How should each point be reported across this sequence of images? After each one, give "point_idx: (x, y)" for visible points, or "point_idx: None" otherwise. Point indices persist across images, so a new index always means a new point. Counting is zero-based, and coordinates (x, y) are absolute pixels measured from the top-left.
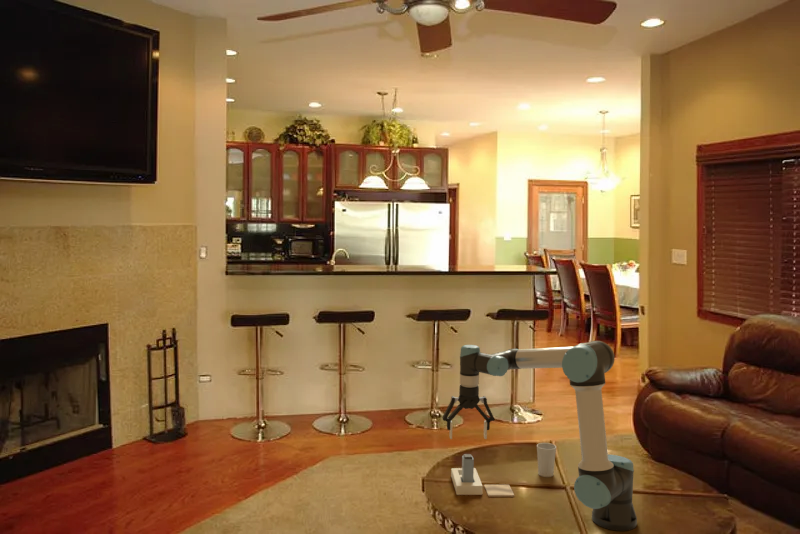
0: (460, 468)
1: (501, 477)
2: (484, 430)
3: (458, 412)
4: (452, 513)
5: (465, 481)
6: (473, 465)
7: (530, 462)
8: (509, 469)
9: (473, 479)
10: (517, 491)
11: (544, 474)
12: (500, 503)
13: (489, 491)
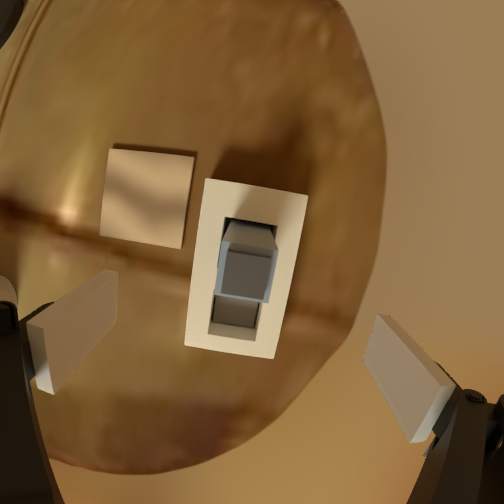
0: (240, 351)
1: None
2: (90, 316)
3: (436, 487)
4: (353, 69)
5: (261, 228)
6: (225, 235)
7: None
8: None
9: (218, 255)
10: (90, 188)
11: (3, 280)
12: (174, 103)
13: (180, 188)
